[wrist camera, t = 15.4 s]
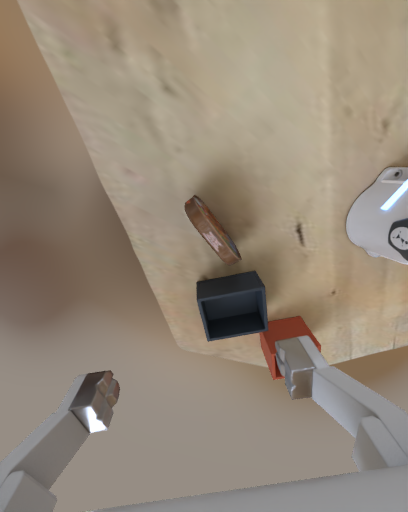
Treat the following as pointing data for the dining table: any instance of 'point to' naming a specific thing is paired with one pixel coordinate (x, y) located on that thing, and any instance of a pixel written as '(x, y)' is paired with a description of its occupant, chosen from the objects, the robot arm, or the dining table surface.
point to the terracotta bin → (279, 332)
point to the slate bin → (232, 306)
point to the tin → (211, 230)
